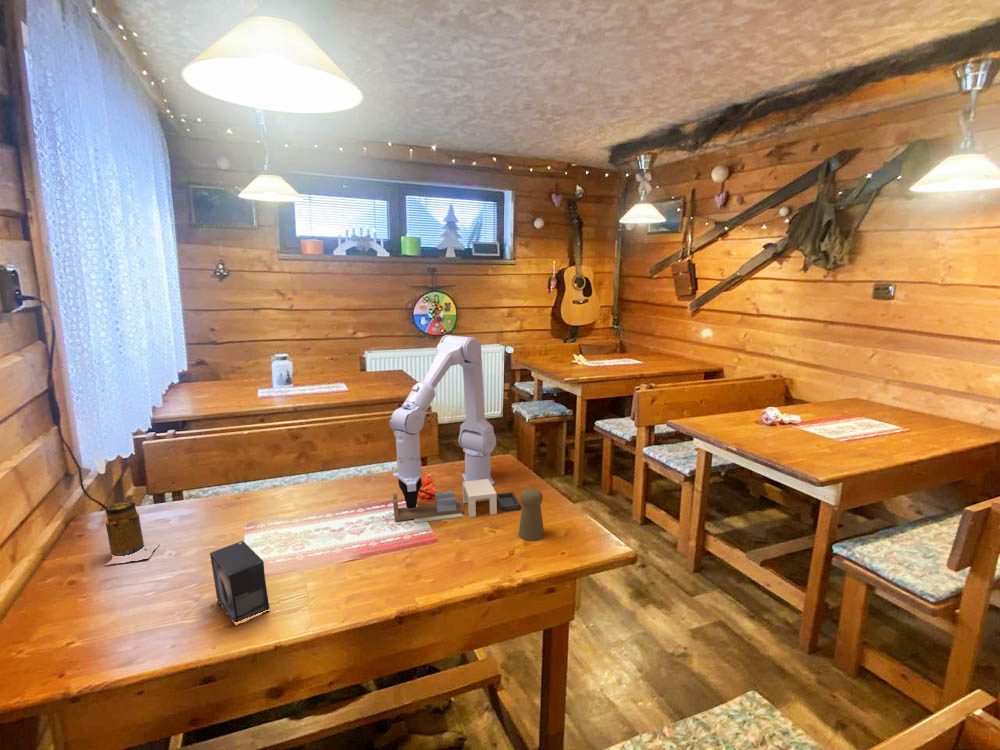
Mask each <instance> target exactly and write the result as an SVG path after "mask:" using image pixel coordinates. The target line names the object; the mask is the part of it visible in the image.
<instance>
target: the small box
mask: <svg viewBox="0 0 1000 750" xmlns="http://www.w3.org/2000/svg"><path fill="white" fill-rule="evenodd" d="M209 555H210V563H211V568H212V574H213V581H214V587H215V588H214V589H215V593H216V600H217V599H218V601H219V602H220V604H221V605H222V606H223V608H224V609H225V611H226V612H227V613H228V615H229V616H230V617H231V619H232V620H233V621H234V622H238V621H241V620H243V619H245V618H248V617H251V616H253V615H256V614H258V613H261V612H263V611H265V610H268V609H269V608H270V602H269V597H268V589H267V588H268V587H267V582H266V575H265V563H264V560H263V559H262V558H261V557H260V556H259V555H258V554H257V553H256V552H255V551H254V550H253V549H252V548H251V547H250V546H249V545H248V544H247V543H246V542H245V541H244V540H241V541H238V542H236V543H233V544H231V545H227V546H225V547H223V548H219V549H217V550H214V551H212V552H209ZM218 601H217V602H218ZM219 602H218V603H219ZM220 604H219V605H220ZM221 605H220V606H221ZM223 608H222V609H223ZM224 609H223V610H224ZM270 609H271V608H270ZM225 611H224V612H225ZM226 612H225V613H226ZM227 613H226V614H227ZM228 615H227V616H228ZM229 616H228V617H229ZM230 617H229V618H230ZM231 619H230V620H231ZM232 620H231V621H232ZM233 621H232V622H233Z"/></svg>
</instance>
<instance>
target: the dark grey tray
mask: <svg viewBox="0 0 1000 750" xmlns="http://www.w3.org/2000/svg"><path fill="white" fill-rule="evenodd" d="M496 495H497V505H498V506H497V507H500V508H499V509H500V511H501V513H504V512H505V513H506V512H514V511H522V505H521V504H522V503H521V502H520V501H519V499H518V498H517V496H516V495H515V493H514V492H513V491H510V492H509V491H508V492H502V493H501V492H500V493H496Z"/></svg>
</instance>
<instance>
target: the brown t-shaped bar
mask: <svg viewBox="0 0 1000 750" xmlns="http://www.w3.org/2000/svg"><path fill="white" fill-rule="evenodd" d="M398 499H399V498H398V494H397V493H392V501H393V516H394V517H393V518H394V521H395V522H398V521H405V520H412V519H413V520H414V519H415V518H423V517H432V516H440V515H448V514H457V513H462V514H463V513H464V508H463V505H462V504H461V501H460V500H457V497H456V495H455V492H454V490H453V491H452V490H451V491H441V492H435V493H434V499H435V500H434V502H435V503H432V504H422V505H416V507H415V508H407V506H406V507H399V503H398V502H399V500H398Z"/></svg>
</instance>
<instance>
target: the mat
mask: <svg viewBox="0 0 1000 750" xmlns="http://www.w3.org/2000/svg"><path fill="white" fill-rule="evenodd" d="M463 517H464V515H463V513H457V514H448V515H440V516H432V517H423V518H415V519H413V521H414V523H423V522H430V521H431V522H432V521H440V520H446V519H447V520H448V519H456V518H463Z"/></svg>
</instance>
